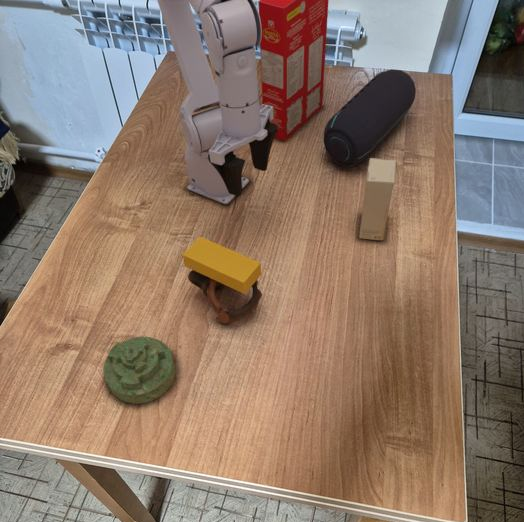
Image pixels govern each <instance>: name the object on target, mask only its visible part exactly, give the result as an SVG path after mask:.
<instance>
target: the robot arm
mask: <svg viewBox="0 0 524 522" xmlns="http://www.w3.org/2000/svg"><path fill="white" fill-rule="evenodd" d="M156 1H157V3H158V7H159V9H160V12H161V16H162V19H163V21H164V24H165V27H166V30H167V34H168V36H169V39H170V43H171V45H172V48H173V52H174V54H175V57H176V60H177V63H178V67H179V69H180V71H181V74H182V77H183V78H182V79H183V81H184V83H185V86H186V89H187V93H188V94H187V96H186V97H185V99H184V100H183V102H182V103H181V106H180V108H179V114H178V116H179V119H180V124H181V128H182V132H183V136H184V139H185V141H186V144H187V145H186V148H185V152H184V162H185V167H186V172H187V173H186V174H187V178H188V183H189V184H188V185H187V190H189V191H190V192H194V193H196V194H198V195H201V196H203V197H205V198H208V199H211V200H213V201H215V202H218V203H220V204H223V205H228V204H230V202H232V201H233V200H234V198H235V197H240V196H241V195H242V194H243V189H244V188H245V187H246V186H247V185H248V184H249V182H250V180H249V179H248V178H246V177H244V176H243V170H244V165H245V163H246V159H244V158H240V157H238V149H239V148H241V147H243V146H245V145H248V146H249V150H250V155H251V161H252V162H251V163H252V165H253V169H255V170H259V171H262V172H265V171H267V169H268V165H269V159H270V154H271V150H272V146H273V143H274V140H275V139H276V138H275V136H276V134H277V132H278V126H277V125H276V124H272V123H270V122H269V121H271V120H272V119H273V118H274V116H273V107H272V106H268V105H264V104H263V103H262V104H261V105H260V95H259V83H258V81H259V80H258V69H257V56H256V49H255V47H258V46H260V42H261V37H262V27H261V20H260V16H259V8H258V6H257V4H256V2H255V1H254V0H156ZM192 10H193V11H194V12H195V14H196V16H197V18H198V19H199V21H200V23H201V25H200V26H201V31H202V36H203V39H204V42H205V43H204V44H205V46H206V48H207V52H208V57H209V60H208V57H207V53H206V50H205V47H204V45H203V40H202V39H201V36H200V32H199V29H198V26H197V23H196V19H195V16H194V13H193V11H192ZM209 62H210V63H209ZM210 65H211V66H210ZM211 67H212V68H213V69H214V74H215V79H214V76H213V71H212V70H211ZM215 81H216V82H215Z"/></svg>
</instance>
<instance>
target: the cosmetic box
mask: <svg viewBox="0 0 524 522" xmlns="http://www.w3.org/2000/svg"><path fill="white" fill-rule="evenodd" d="M396 169H397V160H396V159H387V158H376V157H375V158H374V157H370V158H369V161H368V166H367V172H366V173H367V174H366V181H365V188H364V197H363V204H362V210H361V211H362V212H361V219H360V226H359V235H358V239H364V240H372V241H384V239H385V232H386V228H387V221H388V217H389V216H388V215H389V211H390V205H391V200H392V194H393V191H394V190H393V189H394V185H395V179H396Z"/></svg>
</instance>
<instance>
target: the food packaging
mask: <svg viewBox="0 0 524 522" xmlns="http://www.w3.org/2000/svg"><path fill="white" fill-rule="evenodd" d="M257 1H258V12H259V16H260V20H261V27H262V37H261V42H260V44H259V48H260V52H259V53H260V72H261V73H260V74H261V100H262V104H264V105H268V106H272V107H273V116H274V118H273V119H272V120H271V121H269V122H270V123H272V124H276V125H277V126H278V132H277V134H276V136H275V138H274V139H276V140H280V141H282V142H286V141H287V140H288V139H289V138H290V137H292V135H294V133H296V132H297V131H298V130H299V129H300V128H301V127H302V126H303V125H304V124H305V123H306V122H308V121H309V120H310V119H311V118H312V117H313V116H314V115H316V113H317V112H319V111H320V110H321V109H322V108H323V99H324V98H323V97H324V82H325V65H326V49H327V34H328V33H327V31H328V15H329V14H328V13H329V0H257Z"/></svg>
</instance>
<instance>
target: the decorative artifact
mask: <svg viewBox="0 0 524 522" xmlns="http://www.w3.org/2000/svg"><path fill="white" fill-rule="evenodd" d="M102 370H103V371H102V372H103V373H102V374H103V379H104V380H105V383H106V384H107V386H108V388H109V389H110V392H112V394H113V395H114V396H115V398H117V399H119V400H120V401H122V402H125V403H127V404H134V405H139V404H147V403H150V402H153V401H155V400H157V399H158V398H160V397H162V396H163V395H165V394H166V392H168V391H169V389H170V387H171V386H172V384H173V383H174V381H175V378H176V373H177V372H176V370H177V369H176V364H175V361H174V358H173V356H172V352H171V350H170V348H169V347H168V346H167V345H166V343H164V342H163V341H161V340H159V339H158V338H154V337H151V336H136V337H132V338H129V339H126V340H124V341H122V342H119V341H118V342H117V343H115V344H114V345H113V346H112V347H111V349H110V350H109V352H108V353H107V356H106V358H105V360H104V363H103V369H102Z"/></svg>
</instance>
